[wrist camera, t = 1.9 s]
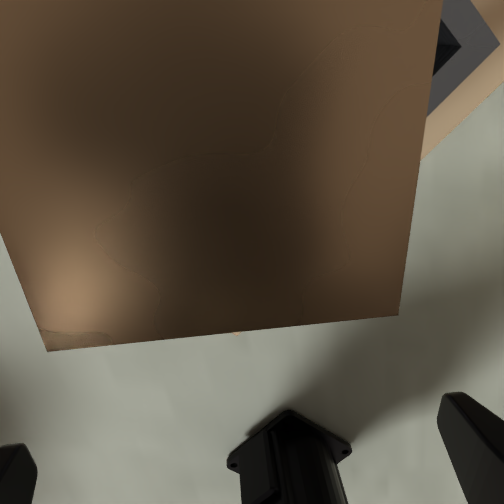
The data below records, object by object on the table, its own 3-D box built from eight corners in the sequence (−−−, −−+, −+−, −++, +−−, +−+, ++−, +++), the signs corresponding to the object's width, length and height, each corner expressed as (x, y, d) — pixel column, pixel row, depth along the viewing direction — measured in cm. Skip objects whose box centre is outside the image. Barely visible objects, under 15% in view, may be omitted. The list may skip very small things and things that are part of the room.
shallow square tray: (447, 80, 17) (540, 100, 12) (262, 266, 21) (278, 338, 16) (179, -257, 12) (158, -450, 7) (-8, 68, 15) (-105, 86, 11)
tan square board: (546, 29, 17) (557, 29, 17) (236, 329, 23) (236, 336, 23) (145, -614, 10) (141, -651, 9) (-159, 78, 16) (-172, 80, 15)
